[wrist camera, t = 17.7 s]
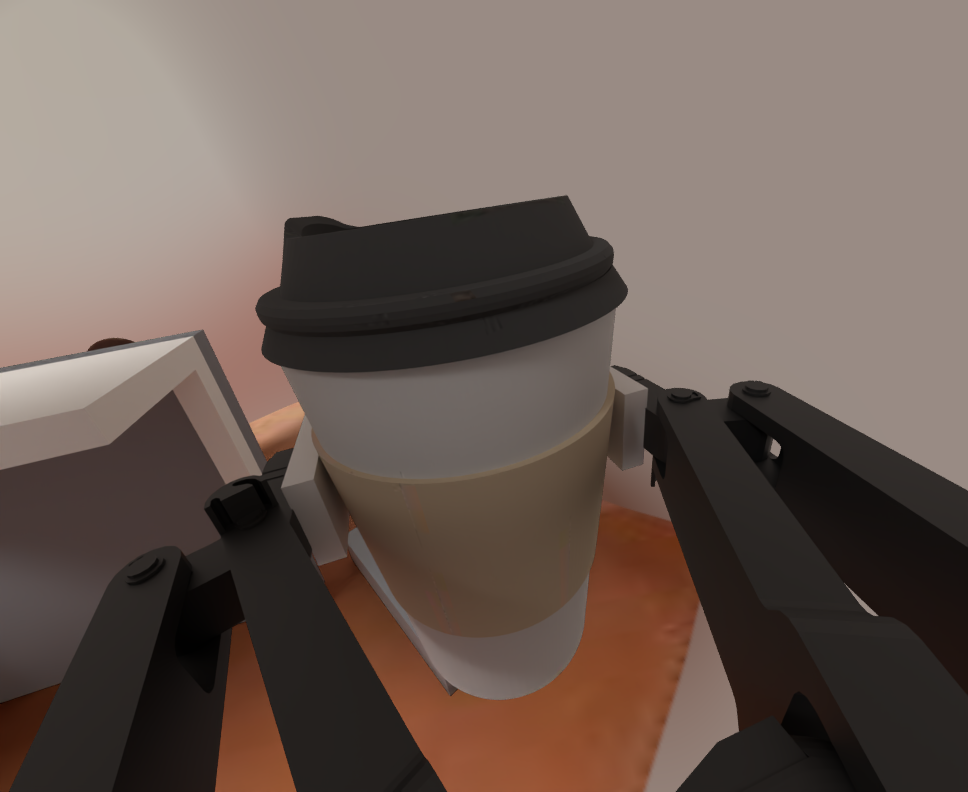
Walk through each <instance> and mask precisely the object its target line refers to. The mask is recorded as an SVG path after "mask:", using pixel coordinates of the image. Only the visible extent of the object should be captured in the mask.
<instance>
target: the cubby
mask: <svg viewBox="0 0 968 792" xmlns="http://www.w3.org/2000/svg"><path fill="white" fill-rule="evenodd" d="M266 463H267V461H266V459H265V456H264V454H263V452H262V450H261V448H260V446H259V444H258V442H257V440H256V438H255V436H254V434H253V432H252V430H251V428H250V425H249V423H248V421H247V420H246V417H245V415H244V413H243V411H242V409H241V407H240V405H239V403H238V401H237V399H236V397H235V395H234V392H233V390H232V388H231V386H230V384H229V382H228V380H227V378H226V376H225V374H224V372H223V370H222V368H221V366H220V363H219V362H218V359H217V357H216V355H215V353H214V351H213V349H212V347H211V345H210V343H209V341H208V339H207V337H206V335H205V333H204V330H199V331H193V332H188V333H182V334H177V335H172V336H166V337H161V338H156V339H151V340H146V341H140V342H135V343H129V344H124V345H119V346H114V347H108V348H103V349H98V350H93V351H87V352H82V353H77V354H71V355H66V356H61V357H56V358H50V359H46V360H40V361H34V362H30V363H24V364H19V365H13V366H8V367H3V368H0V703H2V702H5V701H8V700H11V699H14V698H17V697H20V696H23V695H26V694H29V693H32V692H35V691H38V690H41V689H44V688H47V687H50V686H53V685H56V684H59V683H61V682H62V680H63V678H64V676H65V674H66V671H67V669H68V667H69V665H70V663H71V661H72V659H73V657H74V655H75V653H76V651H77V648H78V646H79V644H80V642H81V640H82V638H83V636H84V634H85V632H86V630H87V628H88V626H89V623H90V621H91V619H92V617H93V615H94V613H95V611H96V609H97V607H98V605H99V603H100V600H101V598H102V596H103V594H104V592H105V590H106V588H107V586H108V584H109V583H110V581H111V580H112V579H113V577H114V576H115V575H116V574H117V573H118V572H119V571H120V570H121V569H122V568H123V567H125V566H126V565H127V564H128V563H129V562H131V561H132V560H135V558H137V557H138V556H140V555H142V554H145V553H147V552H149V551H151V550H153V549H157V548H160V547H164V546H176V547H178V548H179V549H181V551H182V552H183V554H184V555H185V556H187V555H189V554H191V553H193V552H195V551H197V550H199V549H201V548H203V547H205V546H208V545H210V544H212V543H213V542H215V541H217V540H219V539H220V538H221V536H220V534H219V533H218V531H217V529H216V528H215V526H214V525H213V523H212V521H211V520H210V518H209V517H208V515H207V513H206V512H205V510H204V505H205V502H206V501H207V499H208V498H209V497H210V495H212V494H213V493H214V492H215V491H217V490H218V489H219V488H221V487H222V486H224V485H226V484H228V483H230V482H231V481H234V480H237V479H239V478H242V477H247V476H252V475H257V476H261V475H262V472H263V469H264V467H265V465H266ZM311 561H312V563H313V565H314V566H315V568H316V570H317V572H318V573H319V575H320V577H321V579H322V580H323V582H325V580H324V578H323V576H322V574H321V572H320V570H319V568H318V566H317V564H316V562H315V560H314V558H313V556H312V554H311ZM245 621H246V620H244V621H242V622H245ZM242 622H240V623H242ZM238 624H239V623H238Z"/></svg>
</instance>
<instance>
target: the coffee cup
mask: <svg viewBox="0 0 968 792" xmlns="http://www.w3.org/2000/svg"><path fill="white" fill-rule="evenodd" d="M284 229H285V230H284V247H283V263H282V273H281V275H282V276H281V284H280V287H277V288H275V289H273V290H271V291H269V292H267V293H265V294H264V295H262V296H261V297H260V299H259V300H258V303H257V305H256V308H255V309H256V312H257V315H258V317H259V319H260V321H261V322H262V323H263V324H264V325H265V326H266V329H265V334H264V339H263V344H262V354H263V355H264V357H265V358H266V359H268V360H269V361H270V362H272V363H274V364H277V365H279V366H281V367H282V369H283V371H284V373H285V375H286V377H287V379H288V381H289V383H290V385H291V387H292V389H293V391H294V393H295V395H296V397H297V399H298V401H299V403H300V405H301V407H302V409H303V411H304V413H305V415H306V417H307V419H308V421H309V422H310V424H311V426H312V430H311V437H312V442H313V445H314V447H315V449H316V451H317V453H318V455H319V456H320V458H321V460H322V462H323V464H324V466H325V468H326V470H327V472H328V473H329V475H330V477H331V479H332V481H333V483H334V485H335V487H336V489H337V490H338V492H339V494H340V496H341V498H342V500H343V502H344V504H345V506H346V507H347V509H348V511H349V513H350V515H351V517H352V519H353V521H354V523H355V524H356V526H357V528H358V530H359V532H360V534H361V536H362V538H363V540H364V541H365V543H366V545H367V547H368V549H369V551H370V553H371V555H372V556H373V558H374V560H375V562H376V564H377V566H378V568H379V570H380V572H381V573H382V575H383V577H384V579H385V581H386V583H387V585H388V587H389V589H390V590H391V592H392V594H393V596H394V597H395V599H396V600H397V602H398V603H399V604H400V606H401V607H402V608H403V609H404V610H405V611H406V613H407V615H408V617H409V619H410V621H411V623H412V625H413V627H414V629H415V631H416V633H417V635H418V637H419V639H420V641H421V643H422V645H423V647H424V649H425V651H426V653H427V655H428V657H429V659H430V660H431V662H432V664H433V665H434V667H435V668H436V669H437V671H438V672H439V673H440V674H441V675H442V677H443V678H445V679H446V680H447V681H448V682H449V683H450V684H452V685H453V686H454V687H456V688H458V689H459V690H461V691H463V692H465V693H467V694H470V695H473V696H476V697H480V698H485V699H493V700H506V699H513V698H518V697H522V696H525V695H528V694H530V693H533V692H535V691H537V690H539V689H541V688H543V687H544V686H546V685H547V684H549V683H550V682H551V681H553V680H554V679H555V678H556V677H557V676H558V675H559V674H560V673H561V672H562V671H563V670H564V669H565V668H566V666H567V665H568V664H569V662H570V661H571V659H572V658H573V656H574V654H575V652H576V650H577V648H578V646H579V643H580V640H581V637H582V633H583V629H584V621H585V611H586V601H587V591H588V581H589V571H590V569H591V566H592V563H593V560H594V556H595V550H596V542H597V534H598V526H599V518H600V509H601V501H602V493H603V485H604V477H605V468H606V460H607V452H608V444H609V436H610V428H611V420H612V412H613V404H614V395H615V383H614V379H613V377H612V374H611V373H610V360H611V351H612V340H613V330H614V320H615V310H616V307H618V306H619V305H620V304H621V303H622V302H623V301H624V299H625V298H626V296H627V292H628V288H627V286H626V284H625V283H624V281H623V280H622V278H621V277H620V275H619V274H618V272H617V271H616V269H615V268H614V266H613V265H612V264H613V258H614V252H613V248H612V246H611V245H610V244H609V243H608V242H607V241H606V240H604V239H602V238H598V237H591V236H589V235H588V233H587V232H586V230H585V228H584V226H583V224H582V222H581V220H580V218H579V216H578V215H577V213H576V211H575V209H574V207H573V205H572V203H571V201H570V200H569V198H568V196H559V197H552V198H546V199H538V200H532V201H525V202H519V203H512V204H506V205H499V206H493V207H486V208H479V209H473V210H467V211H460V212H453V213H447V214H441V215H434V216H427V217H421V218H415V219H409V220H402V221H396V222H390V223H383V224H376V225H371V226H364V227H355V226H350V225H346V224H343V223H341V222H339V221H336V220H334V219H331V218H327V217H322V216H312V217H301V218H289V219H288V220H287V221H286V222H285V227H284Z"/></svg>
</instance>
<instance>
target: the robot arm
mask: <svg viewBox="0 0 968 792" xmlns="http://www.w3.org/2000/svg"><path fill="white" fill-rule="evenodd" d="M610 373H611V374H612V377H613V379H614V383H615V395H614V404H613V412H612V420H611V428H610V436H609V444H608V452H607V456H608V457H609V458H610V459H611V460H612V461H613V462H614V463H615V464H616V465H617V466H618V467H619V468H620V469H621V470H622V471H623V470H626V469H629V468H633V467H636V466H638V465H642V464H643V459H644V448H645V449H646V450H647V451H649V452H650V453H651V454H652V455H653V461H652V473H651V487H654V486H655V481H656V480H657V482H658V484H659V487H660V490H661V493H662V496H663V499H664V501H665V504H666V507H667V510H668V512H669V515H670V518H671V521H672V524H673V527H674V529H675V532H676V535H677V538H678V540H679V543H680V546H681V549H682V552H683V554H684V557H685V560H686V563H687V566H688V568H689V571H690V574H691V577H692V580H693V582H694V585H695V588H696V591H697V593H698V596H699V599H700V602H701V605H702V607H703V610H704V613H705V616H706V618H707V621H708V624H709V627H710V630H711V632H712V635H713V638H714V641H715V644H716V646H717V649H718V652H719V655H720V658H721V660H722V663H723V666H724V669H725V672H726V674H727V677H728V680H729V683H730V686H731V688H732V691H733V695H734V697H735V702H736V707H737V715H738V726H739V732H738V733H735V734H734V735H731V736H729V737H727V738H725V739H723V740H721V741H719V742H718V743H717V744H716V745H715V746H714V747H713V748H712V749H711V751H710V752H709V753H708V754H707V755H706V756H705V758H704V759H703V760H702V761H701V762H700V764H699V765H698V766H697V767H696V768H695V769H694V771H693V772H692V773H691V774H690V775H689V777H688V778H687V779H686V780H685V781H684V783H683V784H682V785H681V786H680V787H679V788H678V790H677V791H676V792H968V491H967V490H966V489H964V488H962V487H960V486H958V485H956V484H954V483H953V482H951V481H949V480H947V479H945V478H944V477H942V476H940V475H938V474H936V473H934V472H932V471H931V470H929V469H927V468H925V467H923V466H921V465H920V464H918V463H916V462H914V461H912V460H910V459H909V458H907V457H905V456H903V455H901V454H899V453H898V452H896V451H894V450H892V449H890V448H888V447H886V446H885V445H883V444H881V443H879V442H877V441H876V440H874V439H872V438H870V437H868V436H866V435H865V434H863V433H861V432H859V431H857V430H855V429H853V428H851V427H850V426H848V425H846V424H844V423H842V422H841V421H839V420H837V419H835V418H833V417H831V416H830V415H828V414H826V413H824V412H822V411H820V410H819V409H817V408H815V407H813V406H811V405H809V404H808V403H806V402H804V401H802V400H800V399H798V398H796V397H795V396H792V395H791V394H789V393H787V392H785V391H784V390H782V389H780V388H778V387H775V386H773V385H771V384H766V383H763V382H761V381H755V382H754V381H746V382H739V383H735V384H733V385H732V386H731V387H730V390H729V396H728V398H724V399H712V400H707V399H706V397H705V396H704V395H702V394H701V393H699V392H697V391H694V390H690V389H685V388H672V389H666V390H665V389H663V388H661V387H660V386H658V385H656V384H654V383H652V382H651V381H649V380H647V379H644V378H643V377H642V376H640V375H637V374H636V373H635V372H633V371H631V370H629V369H627V368H623V367H619V366H615V365H614V366H610ZM311 430H312V426H311V424H310V422H309V421H308V419H307V417H306V415H305V416H304V419H303V422H302V425H301V428H300V431H299V434H298V437H297V440H296V443H295V446H294V448H292V449H288V450H284V451H280V452H277V453H276V454H275V455H274V456H273V457H272V458H271V459H270V460H269V461H268V462H267V463H266V465H265V467H264V469H263V472H262V475H261V476H257V475H252V476H247V477H242V478H239V479H237V480H234V481H231V482H230V483H228V484H226V485H224V486H222V487H221V488H219V489H218V490H217V491H215V492H214V493H213V494H212V495H210V497H209V498H208V499H207V501H206V502H205V505H204V510H205V512H206V513H207V515H208V517H209V518H210V520H211V521H212V523H213V525H214V526H215V528H216V529H217V531H218V533H219V534H220V536H221V538H220V539H219V540H217V541H215V542H213V543H212V544H210V545H208V546H205V547H203V548H201V549H199V550H197V551H195V552H193V553H191V554H189V555H187V556H185V555H184V554H183V552H182V551H181V549H179V548H178V547H176V546H164V547H160V548H157V549H153V550H151V551H149V552H147V553H145V554H142V555H140V556H138V557H137V558H135V560H132V561H131V562H129V563H128V564H127V565H126V566H125V567H123V568H122V569H121V570H120V571H119V572H118V573H117V574H116V575H115V576H114V577H113V579H112V580H111V581H110V583H109V584H108V586H107V588H106V590H105V592H104V594H103V596H102V598H101V600H100V603H99V605H98V607H97V609H96V611H95V613H94V615H93V617H92V619H91V621H90V623H89V626H88V628H87V630H86V632H85V634H84V636H83V638H82V640H81V642H80V644H79V646H78V648H77V651H76V653H75V655H74V657H73V659H72V661H71V663H70V665H69V667H68V669H67V671H66V674H65V676H64V678H63V680H62V682H61V684H60V686H59V688H58V690H57V692H56V694H55V697H54V699H53V701H52V703H51V705H50V707H49V709H48V711H47V713H46V715H45V717H44V720H43V722H42V724H41V726H40V728H39V730H38V732H37V734H36V736H35V738H34V740H33V742H32V745H31V747H30V749H29V751H28V753H27V755H26V757H25V759H24V761H23V763H22V765H21V768H20V770H19V772H18V774H17V776H16V778H15V780H14V782H13V784H12V786H11V788H10V791H9V792H215V785H216V775H217V766H218V757H219V747H220V738H221V729H222V719H223V710H224V700H225V691H226V682H227V672H228V663H229V654H230V644H231V635H232V627H233V626H235V625H237V624H238V623H240V622H242V621H244V620H246V623H247V627H248V630H249V633H250V637H251V640H252V644H253V647H254V650H255V654H256V657H257V660H258V664H259V667H260V670H261V674H262V677H263V680H264V684H265V687H266V691H267V694H268V697H269V701H270V704H271V707H272V711H273V714H274V717H275V721H276V724H277V727H278V731H279V734H280V737H281V741H282V744H283V748H284V751H285V754H286V758H287V761H288V764H289V768H290V771H291V774H292V778H293V781H294V784H295V788H296V791H297V792H447V791H446V789H445V788H444V786H443V784H442V782H441V781H440V779H439V777H438V776H437V774H436V772H435V771H434V769H433V768H432V766H431V764H430V763H429V761H428V760H427V759H426V758H425V757H424V755H423V754H422V752H421V751H420V749H419V747H418V745H417V744H416V742H415V740H414V739H413V737H412V735H411V733H410V732H409V730H408V728H407V726H406V725H405V723H404V721H403V719H402V718H401V716H400V714H399V712H398V711H397V709H396V707H395V706H394V704H393V702H392V700H391V699H390V697H389V695H388V693H387V692H386V690H385V688H384V686H383V685H382V683H381V681H380V679H379V678H378V676H377V674H376V672H375V671H374V669H373V667H372V666H371V664H370V662H369V660H368V659H367V657H366V655H365V653H364V652H363V650H362V648H361V646H360V645H359V643H358V641H357V639H356V638H355V636H354V634H353V632H352V631H351V629H350V627H349V626H348V624H347V622H346V620H345V619H344V617H343V615H342V613H341V612H340V610H339V608H338V606H337V605H336V603H335V601H334V599H333V598H332V596H331V594H330V592H329V591H328V589H327V587H326V586H325V584H324V582H323V580H322V579H321V577H320V575H319V573H318V572H317V570H316V568H315V566H314V565H313V563H312V561H311V554H312V553H313V555H314V557H315V560H316V562H317V564H318V566H320V565H323V564H326V563H330V562H333V561H336V560H339V559H342V558H345V557H347V549H348V532H349V516H350V513H349V511H348V509H347V507H346V506H345V504H344V502H343V500H342V498H341V496H340V494H339V492H338V490H337V489H336V487H335V485H334V483H333V481H332V479H331V477H330V475H329V473H328V472H327V470H326V468H325V466H324V464H323V462H322V460H321V458H320V456H319V455H318V453H317V451H316V449H315V447H314V445H313V442H312V437H311ZM773 439H775V440H776V441H777V442H778V443H779V444H780V446H781V450H780V454H779V456H778V457H777V456H775V455H773V454H772V453H771V452H770V450H771V445H772V441H773ZM844 583H845V584H846V585H847V586H848V587H849V588H850V589H851V590H852V591H853V592H854V593H855V594H856V595H857V596H858V597H859V598H861V600H863V601H864V602H865V603H866V604H867V605H868V606H869V607H870V608H871V609H872V610H873V611H874V612H875V613H876V614H877V615H878V616H873V615H871V614H870V613H868V612H867V611H866V610H865V609H864V608H863V607H862V606H861V605H860V604H859V603H858V601H857V600H856V599H855V597H854V596H853V595H852V593H851V592H850V590H849V589H848V588H847V587H846V585H845V584H844Z"/></svg>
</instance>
